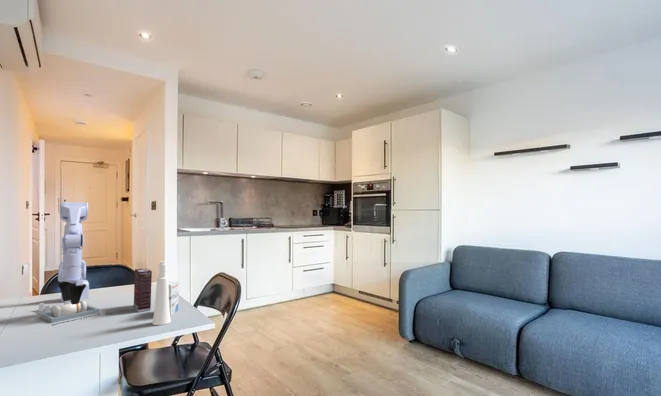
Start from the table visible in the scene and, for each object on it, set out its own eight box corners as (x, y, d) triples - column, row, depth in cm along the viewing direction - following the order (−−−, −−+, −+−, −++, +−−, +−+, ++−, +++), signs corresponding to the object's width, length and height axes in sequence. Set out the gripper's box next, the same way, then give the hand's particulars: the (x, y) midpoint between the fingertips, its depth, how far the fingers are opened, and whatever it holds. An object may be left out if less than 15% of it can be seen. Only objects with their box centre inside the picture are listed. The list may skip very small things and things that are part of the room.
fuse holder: (71, 305, 146) (71, 297, 146) (81, 309, 141) (81, 300, 141) (32, 313, 135) (32, 303, 135) (41, 317, 130) (41, 308, 130)
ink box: (166, 310, 141) (166, 280, 141) (178, 309, 141) (179, 280, 141) (157, 316, 132) (158, 285, 133) (170, 316, 132) (171, 285, 133)
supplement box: (151, 310, 140) (152, 270, 141) (138, 312, 137) (138, 272, 138) (146, 305, 147) (146, 267, 147) (133, 307, 144) (134, 269, 144)
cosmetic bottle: (168, 324, 123) (169, 262, 123) (149, 325, 121) (151, 262, 122) (172, 319, 128) (173, 259, 129) (155, 320, 127) (156, 260, 128)
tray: (86, 310, 140) (87, 304, 140) (99, 314, 134) (99, 309, 134) (40, 319, 128) (40, 313, 128) (51, 325, 121) (51, 318, 121)
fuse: (83, 313, 136) (81, 302, 137) (87, 309, 134) (85, 298, 135) (52, 320, 128) (50, 308, 129) (56, 315, 125) (54, 303, 127)
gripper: (51, 265, 132) (50, 301, 132) (67, 269, 124) (66, 307, 124) (73, 263, 138) (72, 297, 138) (89, 266, 130) (88, 303, 129)
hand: (71, 302), depth 131 cm, fingers open, 7 cm apart
